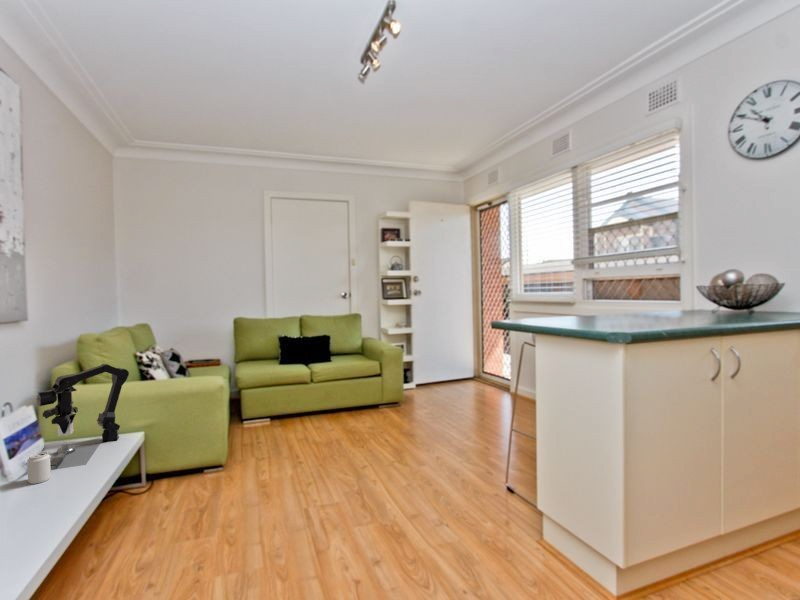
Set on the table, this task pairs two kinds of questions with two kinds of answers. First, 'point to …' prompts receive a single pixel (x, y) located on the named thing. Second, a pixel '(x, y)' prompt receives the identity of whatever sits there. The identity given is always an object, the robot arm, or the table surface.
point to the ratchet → (61, 455)
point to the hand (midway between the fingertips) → (65, 431)
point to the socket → (69, 430)
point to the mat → (78, 456)
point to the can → (39, 467)
